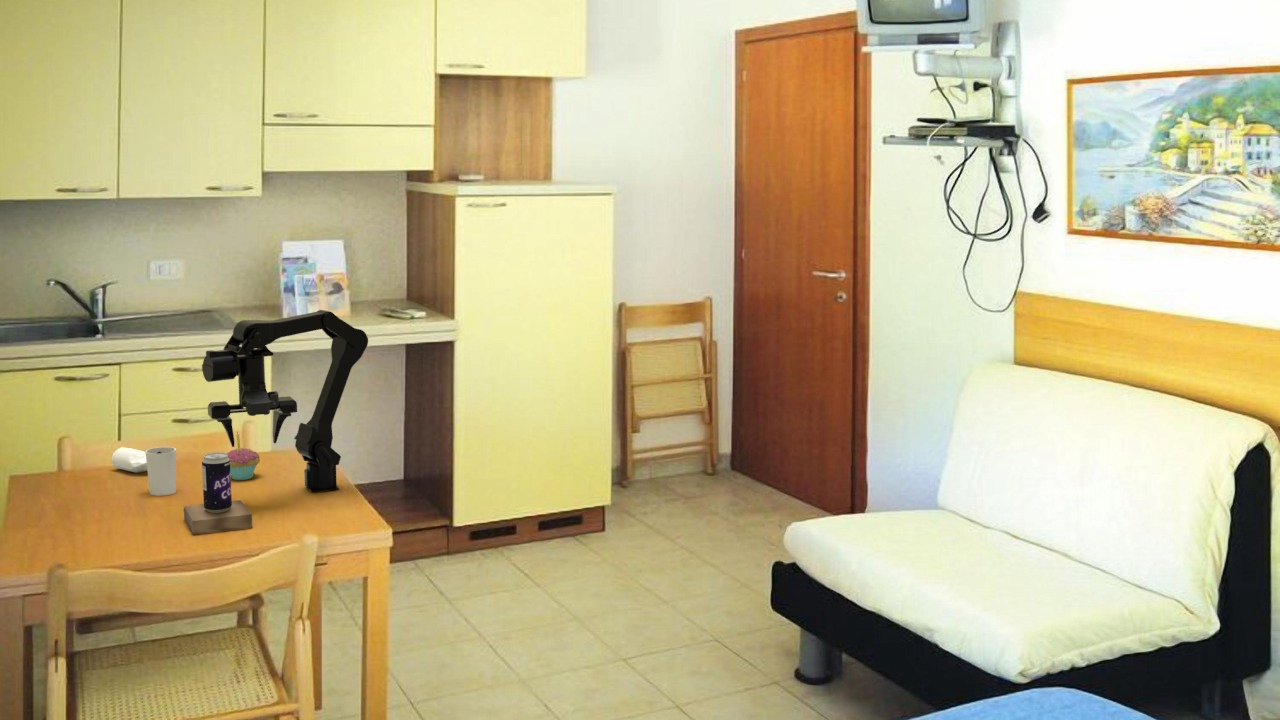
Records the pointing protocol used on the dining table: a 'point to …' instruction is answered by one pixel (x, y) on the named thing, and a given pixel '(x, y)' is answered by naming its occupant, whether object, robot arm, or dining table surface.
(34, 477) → the dining table surface
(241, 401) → the robot arm
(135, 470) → the roll
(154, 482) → the grey cylinder
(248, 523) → the walnut base
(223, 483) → the beverage can
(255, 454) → the cupcake
